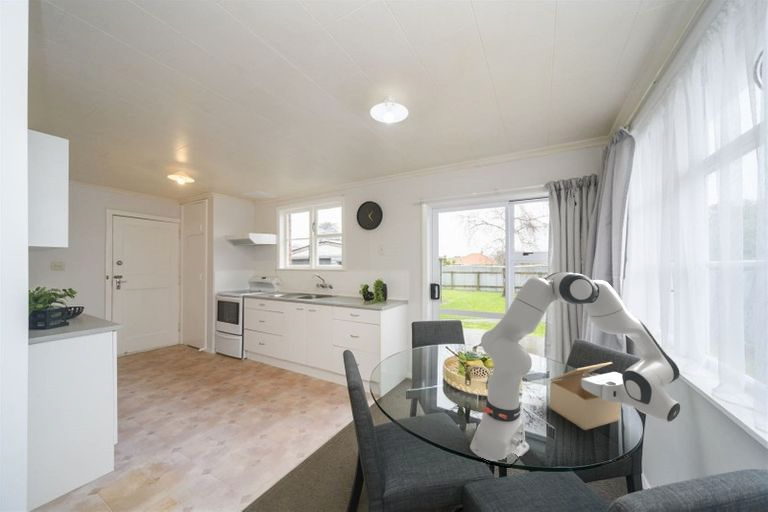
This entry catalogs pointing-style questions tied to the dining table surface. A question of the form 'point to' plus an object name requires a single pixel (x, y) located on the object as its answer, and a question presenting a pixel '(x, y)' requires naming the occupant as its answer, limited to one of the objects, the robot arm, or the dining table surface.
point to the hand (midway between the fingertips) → (586, 373)
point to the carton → (581, 404)
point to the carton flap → (580, 371)
